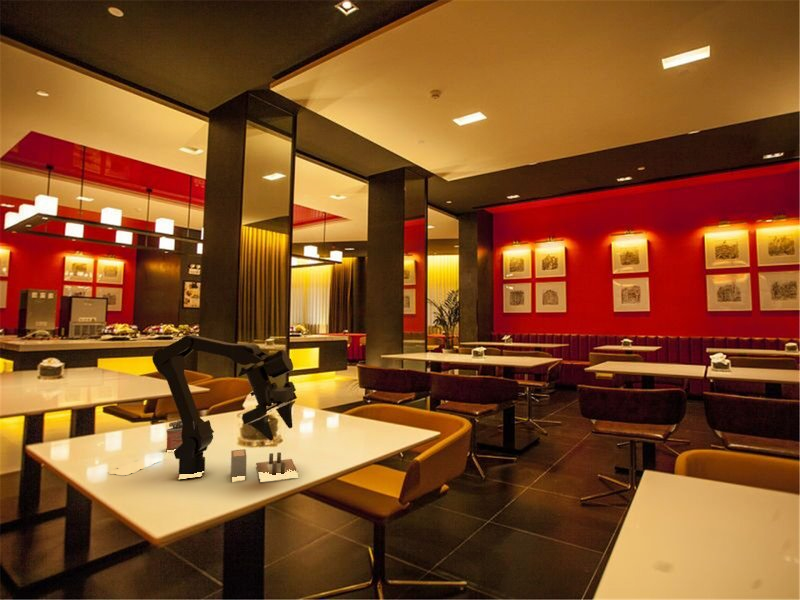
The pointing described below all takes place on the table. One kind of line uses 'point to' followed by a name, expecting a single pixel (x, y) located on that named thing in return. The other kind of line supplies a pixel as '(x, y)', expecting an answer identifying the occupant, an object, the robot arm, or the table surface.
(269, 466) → the pin tray
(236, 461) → the block
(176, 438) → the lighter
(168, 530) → the table surface
